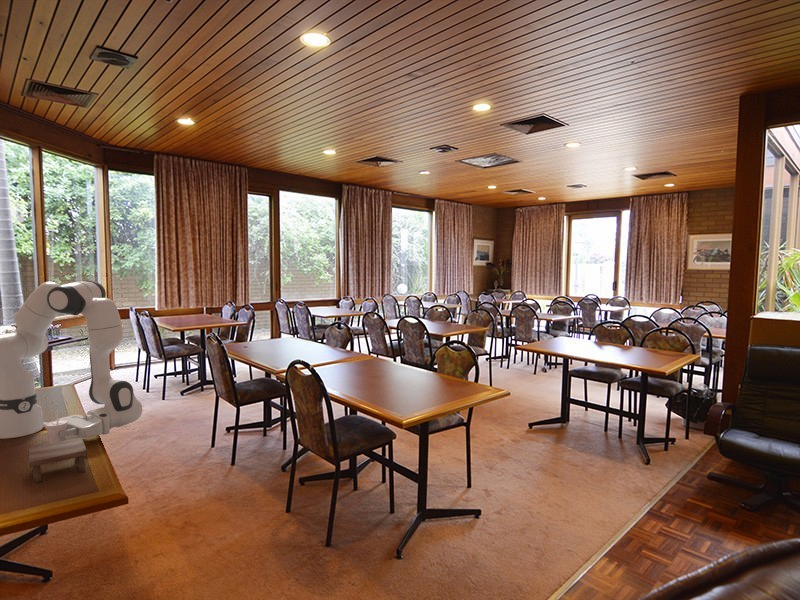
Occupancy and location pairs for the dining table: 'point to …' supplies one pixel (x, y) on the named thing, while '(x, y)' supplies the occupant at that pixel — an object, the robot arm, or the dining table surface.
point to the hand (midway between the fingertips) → (54, 432)
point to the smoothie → (56, 429)
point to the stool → (57, 455)
